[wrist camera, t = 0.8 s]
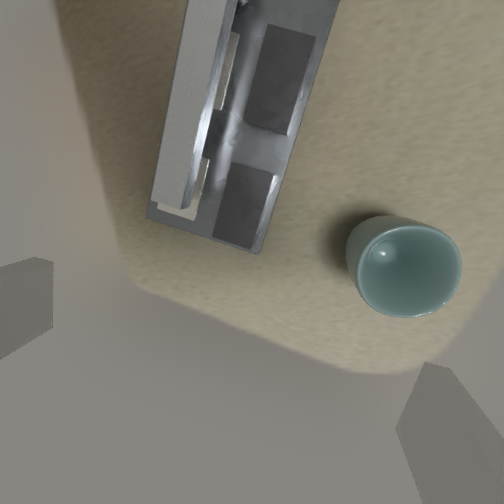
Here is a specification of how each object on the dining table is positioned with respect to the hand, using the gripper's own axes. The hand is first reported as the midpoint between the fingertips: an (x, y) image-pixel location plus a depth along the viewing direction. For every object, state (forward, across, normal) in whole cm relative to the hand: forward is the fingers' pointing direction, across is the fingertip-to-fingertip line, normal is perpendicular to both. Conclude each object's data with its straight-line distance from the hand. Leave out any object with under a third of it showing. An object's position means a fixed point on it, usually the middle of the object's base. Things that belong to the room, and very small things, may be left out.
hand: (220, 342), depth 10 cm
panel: (+24, -7, +10) cm, 27 cm away
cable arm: (+20, -9, +12) cm, 25 cm away
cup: (+25, +11, 0) cm, 27 cm away
